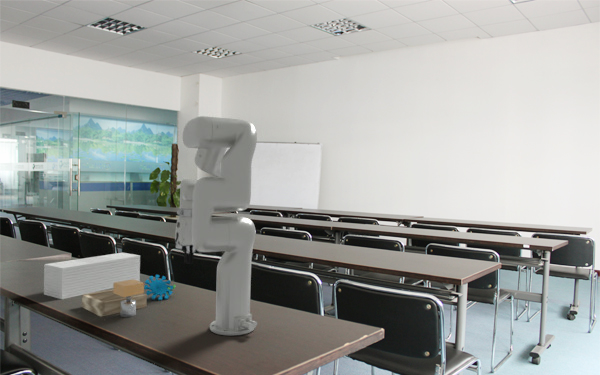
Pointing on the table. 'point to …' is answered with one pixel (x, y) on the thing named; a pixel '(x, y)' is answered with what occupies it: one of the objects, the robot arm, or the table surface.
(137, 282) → the block
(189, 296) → the table surface
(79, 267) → the stack of papers
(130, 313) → the silver metal rounded piece
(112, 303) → the chassis bay
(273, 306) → the table surface
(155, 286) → the gear
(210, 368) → the table surface
